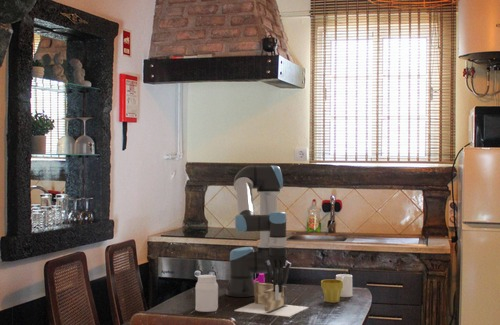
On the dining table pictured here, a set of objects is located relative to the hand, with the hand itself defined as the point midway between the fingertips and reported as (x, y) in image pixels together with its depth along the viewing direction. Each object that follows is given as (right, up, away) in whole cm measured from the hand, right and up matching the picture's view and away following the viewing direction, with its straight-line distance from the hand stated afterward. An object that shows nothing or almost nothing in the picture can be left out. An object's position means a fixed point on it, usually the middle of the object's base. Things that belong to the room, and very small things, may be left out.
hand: (278, 299), depth 315 cm
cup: (+34, -6, +38) cm, 51 cm away
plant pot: (+27, -6, +24) cm, 37 cm away
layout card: (-3, -6, +6) cm, 8 cm away
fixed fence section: (-4, -6, +16) cm, 17 cm away
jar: (-32, -6, +7) cm, 33 cm away
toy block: (-12, -6, +63) cm, 64 cm away
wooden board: (-1, -5, +5) cm, 7 cm away
